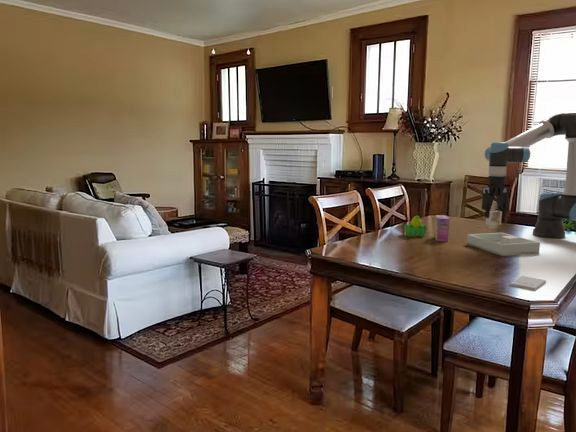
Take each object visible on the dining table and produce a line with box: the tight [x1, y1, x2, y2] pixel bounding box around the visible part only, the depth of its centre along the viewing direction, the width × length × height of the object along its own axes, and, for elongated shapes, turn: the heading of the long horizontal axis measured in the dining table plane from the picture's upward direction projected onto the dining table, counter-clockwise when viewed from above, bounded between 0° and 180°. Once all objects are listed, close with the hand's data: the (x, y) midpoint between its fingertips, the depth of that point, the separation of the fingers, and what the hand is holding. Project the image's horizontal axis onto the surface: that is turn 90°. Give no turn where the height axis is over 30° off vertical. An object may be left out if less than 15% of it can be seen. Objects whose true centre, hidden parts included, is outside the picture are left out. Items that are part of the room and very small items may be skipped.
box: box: [434, 214, 450, 243], centre depth 236 cm, size 10×6×12 cm, turn 168°
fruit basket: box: [403, 215, 428, 238], centre depth 245 cm, size 11×9×11 cm
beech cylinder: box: [486, 210, 500, 230], centre depth 220 cm, size 5×5×8 cm
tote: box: [466, 232, 541, 257], centre depth 215 cm, size 20×24×5 cm
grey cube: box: [500, 235, 520, 244], centre depth 211 cm, size 6×6×6 cm
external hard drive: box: [508, 275, 547, 292], centre depth 161 cm, size 2×8×12 cm
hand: (493, 224), depth 220 cm, fingers closed on beech cylinder, 5 cm apart
